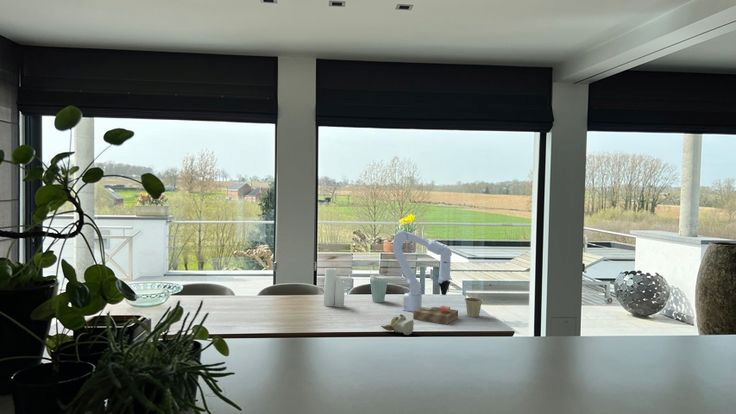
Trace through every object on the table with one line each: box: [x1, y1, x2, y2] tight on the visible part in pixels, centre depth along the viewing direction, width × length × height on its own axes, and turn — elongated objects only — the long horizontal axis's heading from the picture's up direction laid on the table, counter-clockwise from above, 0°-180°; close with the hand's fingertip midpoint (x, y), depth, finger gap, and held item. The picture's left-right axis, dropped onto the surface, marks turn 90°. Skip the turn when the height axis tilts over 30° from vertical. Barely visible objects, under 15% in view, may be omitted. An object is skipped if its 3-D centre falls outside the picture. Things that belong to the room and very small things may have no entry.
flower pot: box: [464, 297, 484, 318], centre depth 291 cm, size 9×9×9 cm
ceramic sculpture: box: [380, 314, 414, 336], centre depth 252 cm, size 11×9×15 cm
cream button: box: [421, 305, 435, 310], centre depth 283 cm, size 4×4×5 cm
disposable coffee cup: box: [369, 274, 389, 304], centre depth 317 cm, size 11×11×15 cm
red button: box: [438, 305, 451, 313], centre depth 279 cm, size 4×4×5 cm
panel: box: [412, 306, 459, 325], centre depth 281 cm, size 18×16×4 cm
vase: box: [323, 267, 346, 308], centre depth 302 cm, size 11×7×20 cm, turn 86°
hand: (443, 294), depth 296 cm, fingers closed
